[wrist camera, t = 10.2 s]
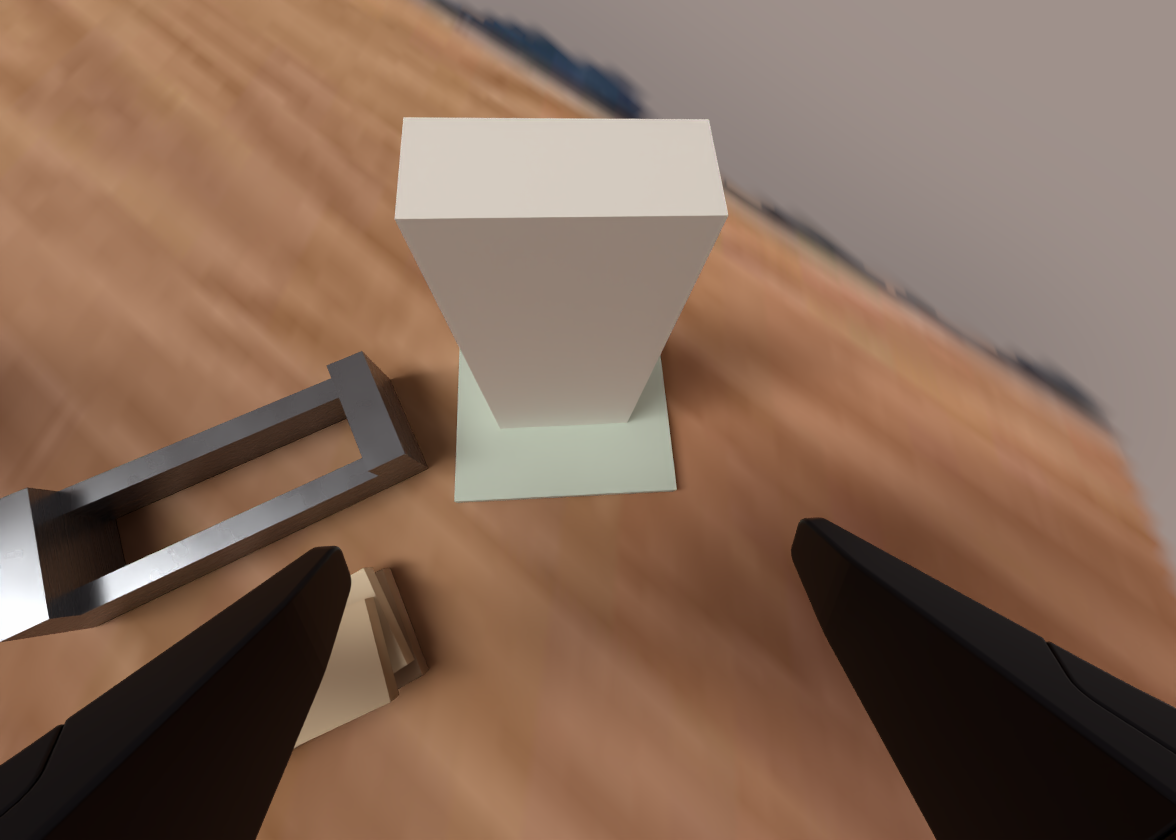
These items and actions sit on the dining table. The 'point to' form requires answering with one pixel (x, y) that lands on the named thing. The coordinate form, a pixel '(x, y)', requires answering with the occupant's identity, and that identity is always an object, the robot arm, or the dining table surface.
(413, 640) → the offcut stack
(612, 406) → the tall block
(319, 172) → the dining table surface
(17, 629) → the slot rack
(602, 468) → the sage mat
